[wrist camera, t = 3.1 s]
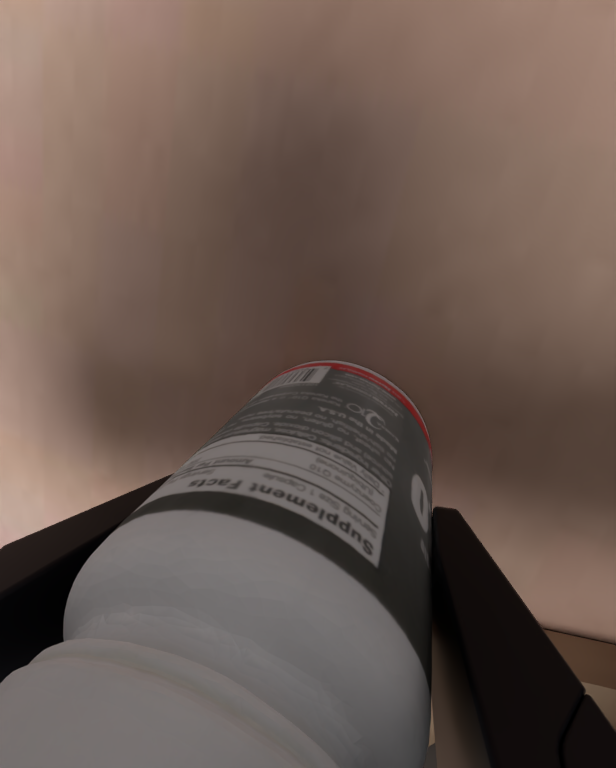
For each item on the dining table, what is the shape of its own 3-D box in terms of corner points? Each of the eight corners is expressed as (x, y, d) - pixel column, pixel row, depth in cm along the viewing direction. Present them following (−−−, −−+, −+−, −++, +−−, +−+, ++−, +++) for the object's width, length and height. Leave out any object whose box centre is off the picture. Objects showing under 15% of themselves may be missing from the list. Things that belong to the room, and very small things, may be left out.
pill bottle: (398, 540, 11) (326, 1234, 3) (242, 481, 12) (-91, 938, 4) (462, 389, 9) (623, 1292, 1) (267, 331, 10) (-285, 700, 2)
